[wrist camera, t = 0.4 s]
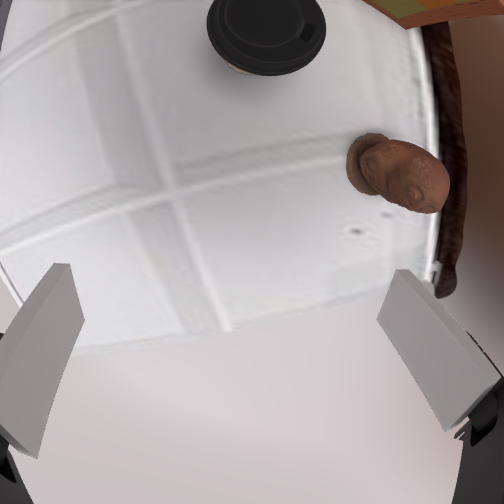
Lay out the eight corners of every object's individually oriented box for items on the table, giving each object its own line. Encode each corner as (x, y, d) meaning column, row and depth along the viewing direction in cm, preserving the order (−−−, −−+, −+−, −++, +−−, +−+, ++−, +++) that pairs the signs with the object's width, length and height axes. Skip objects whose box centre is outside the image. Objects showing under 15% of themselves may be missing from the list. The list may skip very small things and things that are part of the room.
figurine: (345, 124, 35) (418, 128, 21) (400, 140, 37) (476, 155, 23) (334, 189, 38) (399, 223, 25) (390, 198, 40) (459, 232, 27)
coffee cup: (290, 85, 31) (340, 72, 18) (213, 92, 30) (213, 79, 17) (281, 18, 27) (324, -28, 13) (204, 24, 26) (200, -27, 13)
